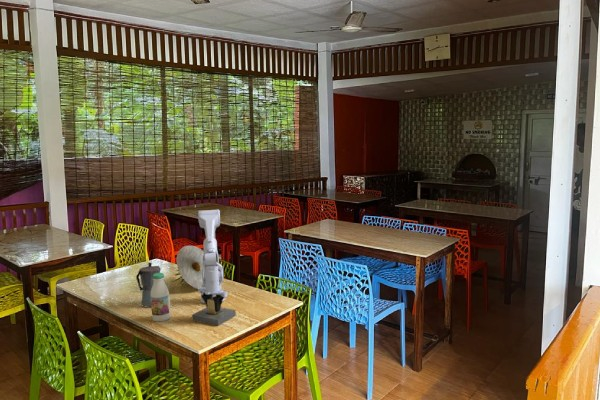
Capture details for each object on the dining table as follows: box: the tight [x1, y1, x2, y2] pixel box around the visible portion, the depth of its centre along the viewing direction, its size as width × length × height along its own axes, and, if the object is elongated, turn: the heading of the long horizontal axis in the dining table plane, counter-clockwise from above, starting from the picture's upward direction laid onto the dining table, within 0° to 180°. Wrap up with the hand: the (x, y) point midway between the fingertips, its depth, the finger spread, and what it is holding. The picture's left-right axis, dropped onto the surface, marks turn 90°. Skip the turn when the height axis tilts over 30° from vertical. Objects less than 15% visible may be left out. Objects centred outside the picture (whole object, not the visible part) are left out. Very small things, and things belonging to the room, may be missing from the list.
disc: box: [171, 245, 204, 290], centre depth 247 cm, size 25×18×25 cm
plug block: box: [206, 296, 222, 316], centre depth 202 cm, size 4×4×8 cm
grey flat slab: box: [191, 306, 237, 327], centre depth 202 cm, size 14×12×2 cm
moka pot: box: [135, 262, 161, 308], centre depth 219 cm, size 10×15×20 cm, turn 161°
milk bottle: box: [150, 272, 172, 322], centre depth 202 cm, size 8×8×20 cm
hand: (213, 310), depth 202 cm, fingers closed on plug block, 4 cm apart
